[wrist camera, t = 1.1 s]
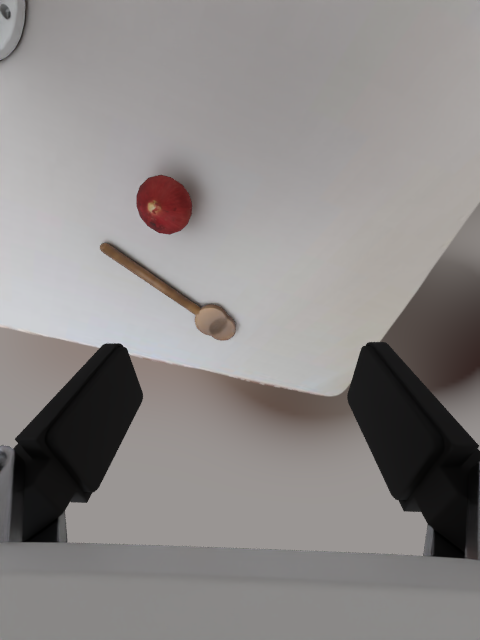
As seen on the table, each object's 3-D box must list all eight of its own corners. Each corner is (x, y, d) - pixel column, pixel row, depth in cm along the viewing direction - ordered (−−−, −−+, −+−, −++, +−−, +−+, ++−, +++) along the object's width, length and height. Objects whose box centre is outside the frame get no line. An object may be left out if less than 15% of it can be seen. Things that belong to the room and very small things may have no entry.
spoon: (97, 258, 32) (91, 261, 31) (111, 228, 30) (105, 230, 29) (223, 342, 39) (222, 347, 38) (242, 322, 37) (242, 327, 36)
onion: (185, 237, 30) (166, 251, 23) (145, 212, 29) (112, 219, 22) (205, 195, 28) (190, 197, 21) (162, 166, 26) (131, 157, 19)
